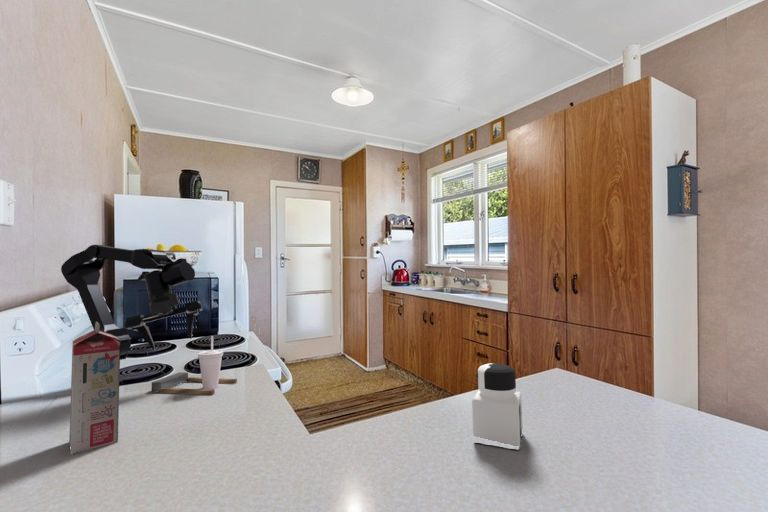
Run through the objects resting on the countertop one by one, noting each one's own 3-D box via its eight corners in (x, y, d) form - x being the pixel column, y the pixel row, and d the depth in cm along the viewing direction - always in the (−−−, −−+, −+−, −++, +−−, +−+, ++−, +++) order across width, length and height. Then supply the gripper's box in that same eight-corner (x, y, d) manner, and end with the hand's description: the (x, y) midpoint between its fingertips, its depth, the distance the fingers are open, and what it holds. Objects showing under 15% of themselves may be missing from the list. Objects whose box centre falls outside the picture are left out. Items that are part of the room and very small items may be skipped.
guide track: (149, 392, 95) (150, 382, 95) (180, 380, 106) (180, 371, 106) (211, 394, 92) (212, 385, 92) (236, 382, 103) (236, 373, 103)
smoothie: (227, 384, 101) (228, 334, 102) (214, 391, 95) (215, 338, 95) (206, 384, 102) (206, 334, 102) (192, 391, 95) (192, 338, 96)
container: (523, 433, 66) (520, 362, 67) (519, 452, 59) (516, 373, 60) (480, 426, 70) (478, 359, 70) (473, 443, 63) (470, 368, 63)
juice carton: (113, 431, 71) (116, 319, 72) (117, 442, 66) (120, 322, 67) (69, 441, 66) (73, 323, 68) (70, 454, 61) (74, 326, 63)
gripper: (113, 296, 91) (126, 355, 90) (193, 278, 100) (207, 332, 98) (124, 301, 101) (136, 355, 99) (196, 284, 109) (208, 333, 108)
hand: (172, 343), depth 101 cm, fingers open, 9 cm apart
